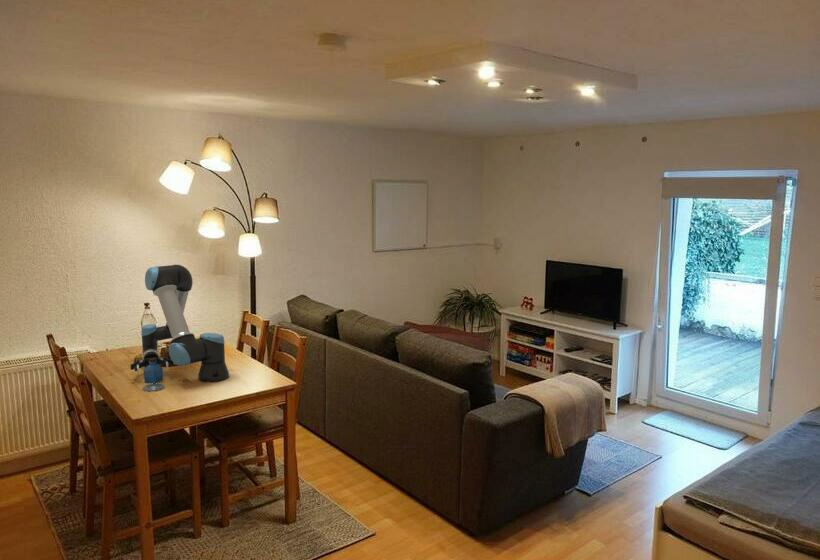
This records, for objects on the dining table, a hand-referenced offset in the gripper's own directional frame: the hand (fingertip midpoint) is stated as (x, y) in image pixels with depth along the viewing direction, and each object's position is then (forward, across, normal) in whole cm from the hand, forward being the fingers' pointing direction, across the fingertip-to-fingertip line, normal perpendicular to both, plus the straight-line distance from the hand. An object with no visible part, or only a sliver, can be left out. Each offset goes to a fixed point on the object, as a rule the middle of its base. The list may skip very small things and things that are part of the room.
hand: (153, 369), depth 295 cm
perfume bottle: (-2, 0, -7) cm, 7 cm away
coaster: (+9, 0, -7) cm, 11 cm away
